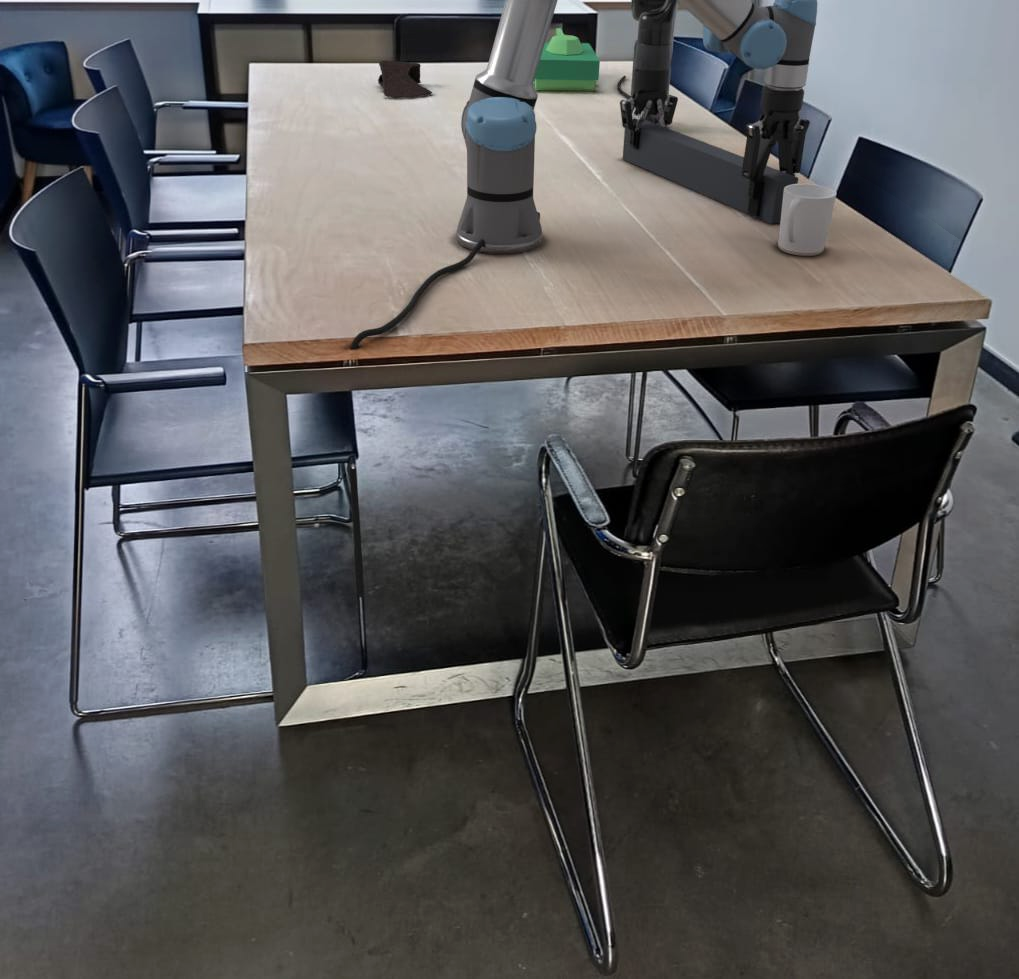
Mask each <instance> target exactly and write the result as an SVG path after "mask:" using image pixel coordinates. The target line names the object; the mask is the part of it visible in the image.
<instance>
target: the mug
mask: <svg viewBox="0 0 1019 979" xmlns="http://www.w3.org/2000/svg"><path fill="white" fill-rule="evenodd" d="M836 198H837V191H836V190H835V189H833V188H831V187H829V186H826V185H822V184H821V185H820V184H815V183H798V184H792V185H788V186H786V187H784V192H783V202H782V212H781V221H780V223H779V232H778V242H777V246H778V249H779V250H780V251H782V252H784V253H786V254H789V255H795V256H802V257H811V256H818V255H820V254H822V253H823V252H824V250H825V248H826V242H827V238H828V233H829V229H830V225H831V220H832V215H833V211H834V207H835V203H836Z"/></svg>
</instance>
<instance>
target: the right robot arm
mask: <svg viewBox="0 0 1019 979" xmlns="http://www.w3.org/2000/svg"><path fill="white" fill-rule="evenodd" d="M630 1H631V2H630V9H631V15H632V18H633V20H635V21H636V22H638V29H637V38H636V40H634V44H633V45H634V46H633V47H634V48H633V56H632V57H633V58H632V73H631V83H630V84H631V86H630V94H628V93H627V92H625V91H624V90H623V89H622V88H621V84H622V83H623V82H624V81H625V79H627V75H623V76H622V77H621V78H620V79H619V80H618V82H617V84H616V86H617V87H616V88H617V90H618V92H619V93H620V94H621V95H623V96H624V97H625V98H627V99H626V100H625V99H621V100H620V101H619V108H620V116H621V124H622V128H624V129H625V128H627V129H629V130H630V141H629V143H630V145H631V148H633V149H639V142H640V132H639V130H640V128H641V125H642V123H643V122H644V121H645V120H647V121H650V122H652V123H655V124H658V125H660V126H663V127H666V128H667V126H672V123H673V120H674V116H675V113H676V109H677V105H678V101H679V98H678V96H675V95H672V94H670V84H671V73H672V63H673V62H672V61H673V50H674V37H675V27H676V21H677V20H676V18H677V13H678V8H679V7H678V6H679V2H678V1H677V0H630Z"/></svg>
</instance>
